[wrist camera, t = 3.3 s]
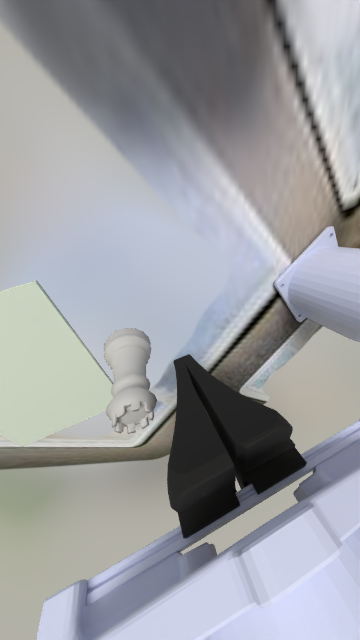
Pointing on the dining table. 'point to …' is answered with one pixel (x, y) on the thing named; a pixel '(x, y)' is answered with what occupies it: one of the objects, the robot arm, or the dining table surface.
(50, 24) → the dining table surface
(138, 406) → the rook chess piece
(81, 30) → the dining table surface
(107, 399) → the mat
